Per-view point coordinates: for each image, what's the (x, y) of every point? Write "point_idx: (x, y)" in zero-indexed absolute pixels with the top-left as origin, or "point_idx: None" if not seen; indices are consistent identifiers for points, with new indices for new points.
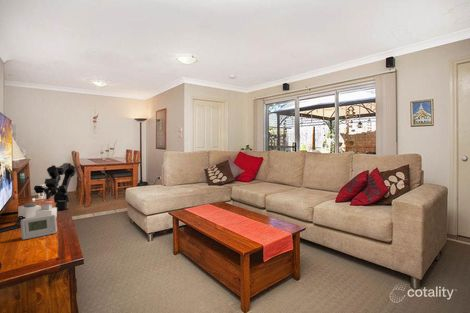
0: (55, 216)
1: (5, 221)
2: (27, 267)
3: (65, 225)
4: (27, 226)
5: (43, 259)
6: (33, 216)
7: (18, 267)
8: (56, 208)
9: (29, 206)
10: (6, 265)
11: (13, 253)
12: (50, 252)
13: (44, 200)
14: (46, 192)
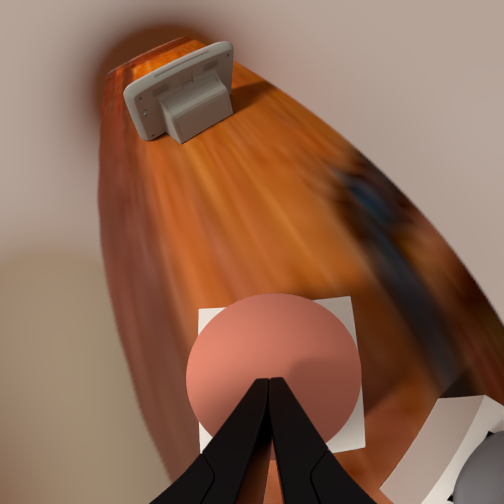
0: (124, 96)
1: (495, 316)
2: (169, 47)
3: (121, 227)
4: (211, 64)
5: (152, 60)
6: (413, 445)
7: (180, 45)
8: (203, 444)
9: (485, 443)
10: (199, 44)
11: None
12: (145, 72)
13: (338, 429)
14: (339, 498)
